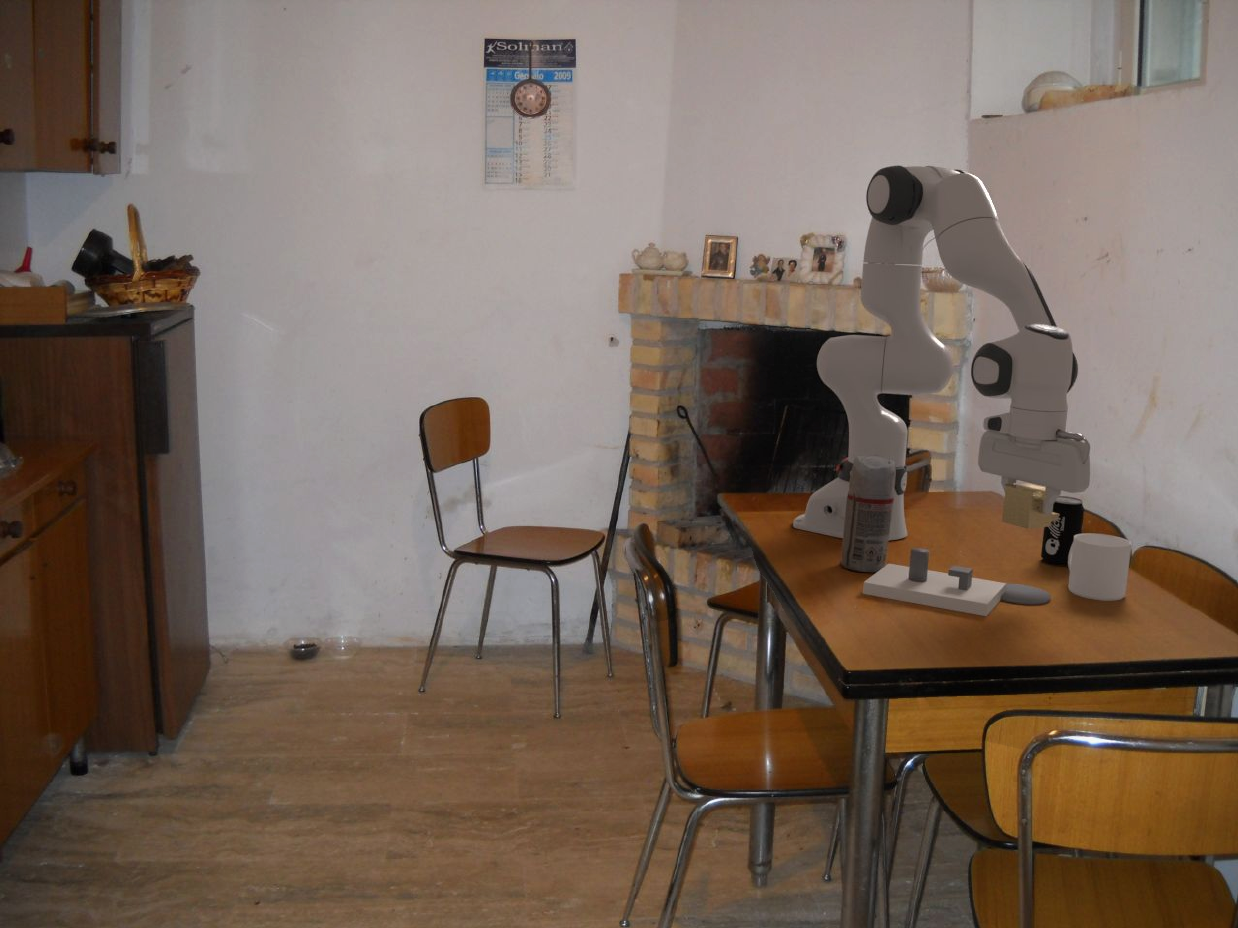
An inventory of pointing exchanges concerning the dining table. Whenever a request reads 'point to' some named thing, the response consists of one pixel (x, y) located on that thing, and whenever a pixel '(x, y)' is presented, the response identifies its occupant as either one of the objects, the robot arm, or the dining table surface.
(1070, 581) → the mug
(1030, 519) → the tan wooden block
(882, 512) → the spray can
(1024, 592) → the slate coaster
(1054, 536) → the beverage can
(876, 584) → the base
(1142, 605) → the dining table surface
